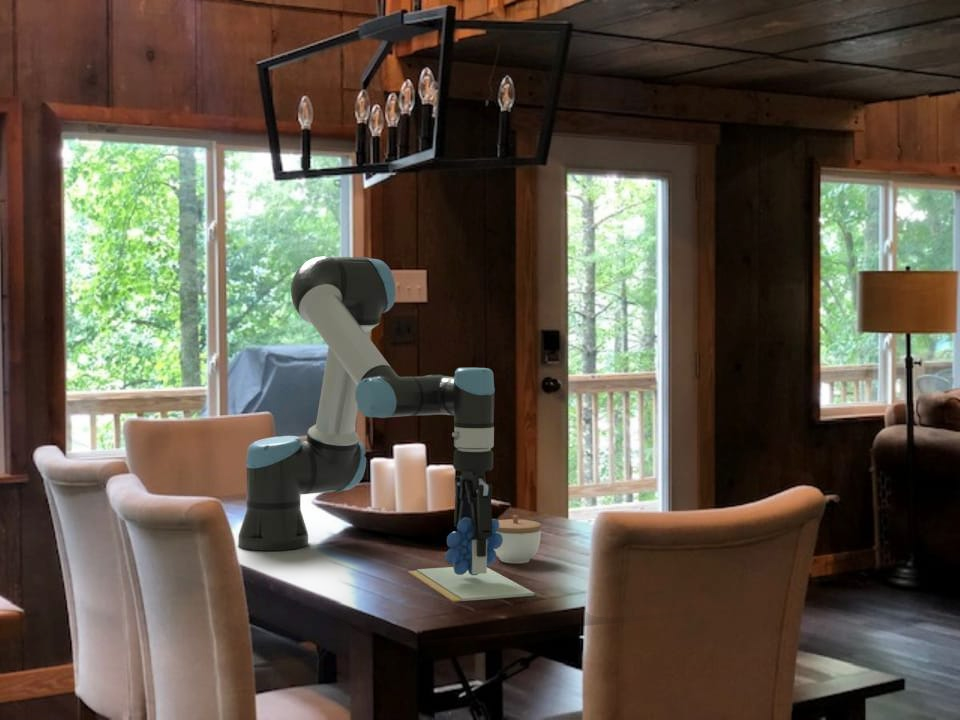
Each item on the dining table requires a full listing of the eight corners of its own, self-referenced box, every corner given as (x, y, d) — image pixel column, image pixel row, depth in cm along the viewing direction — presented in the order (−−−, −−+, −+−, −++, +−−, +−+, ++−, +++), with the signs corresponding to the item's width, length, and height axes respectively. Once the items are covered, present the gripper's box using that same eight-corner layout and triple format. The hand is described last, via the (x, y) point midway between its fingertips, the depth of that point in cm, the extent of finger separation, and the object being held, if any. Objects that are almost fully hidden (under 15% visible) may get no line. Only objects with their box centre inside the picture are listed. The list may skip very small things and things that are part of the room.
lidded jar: (541, 566, 254) (542, 520, 254) (488, 565, 255) (489, 519, 254) (540, 555, 265) (540, 512, 265) (489, 555, 265) (490, 511, 265)
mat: (416, 571, 247) (416, 569, 247) (482, 567, 252) (482, 565, 252) (462, 601, 223) (462, 598, 223) (534, 595, 228) (534, 592, 228)
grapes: (493, 568, 243) (494, 507, 243) (507, 575, 237) (507, 513, 237) (437, 572, 239) (437, 510, 239) (449, 580, 233) (450, 516, 232)
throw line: (408, 572, 247) (408, 571, 247) (415, 572, 247) (415, 570, 247) (453, 601, 222) (453, 600, 222) (460, 601, 223) (461, 599, 223)
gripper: (437, 444, 245) (436, 560, 246) (473, 455, 227) (472, 581, 228) (473, 443, 248) (472, 558, 249) (511, 454, 229) (510, 578, 230)
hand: (472, 569), depth 238 cm, fingers closed on grapes, 7 cm apart
